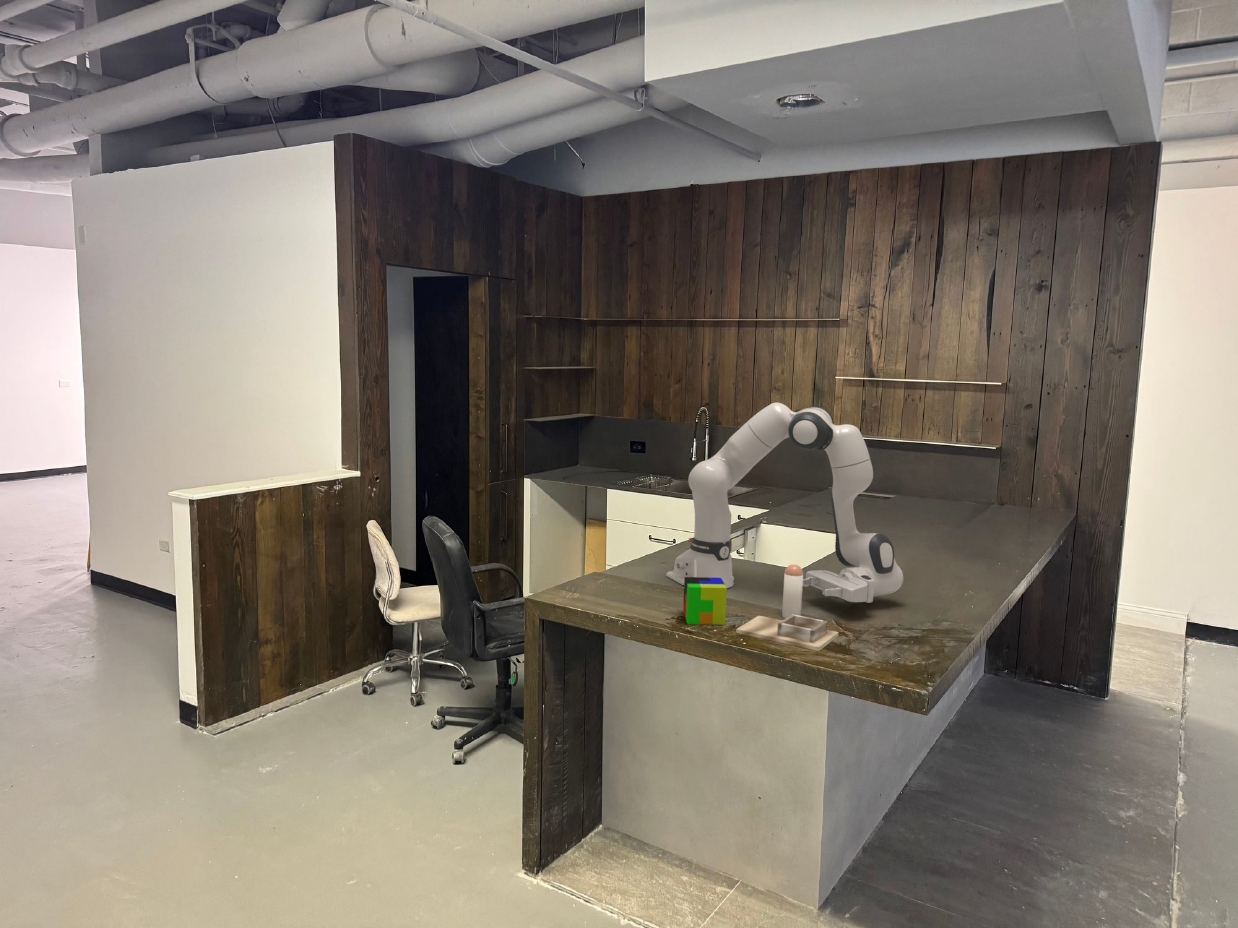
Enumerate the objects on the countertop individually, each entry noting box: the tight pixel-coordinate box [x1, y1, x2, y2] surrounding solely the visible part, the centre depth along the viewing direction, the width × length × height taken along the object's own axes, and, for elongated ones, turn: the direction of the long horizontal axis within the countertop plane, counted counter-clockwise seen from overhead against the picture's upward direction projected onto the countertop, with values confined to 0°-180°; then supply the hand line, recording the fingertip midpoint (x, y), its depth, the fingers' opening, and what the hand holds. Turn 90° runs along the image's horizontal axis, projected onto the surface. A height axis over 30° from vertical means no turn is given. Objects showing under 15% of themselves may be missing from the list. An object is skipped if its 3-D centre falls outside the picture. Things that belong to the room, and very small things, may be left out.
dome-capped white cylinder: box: [781, 563, 804, 619], centre depth 232 cm, size 5×5×14 cm
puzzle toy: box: [682, 577, 728, 626], centre depth 229 cm, size 10×10×10 cm
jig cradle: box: [735, 614, 839, 652], centre depth 218 cm, size 22×14×4 cm, turn 57°
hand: (812, 587), depth 235 cm, fingers open, 8 cm apart
